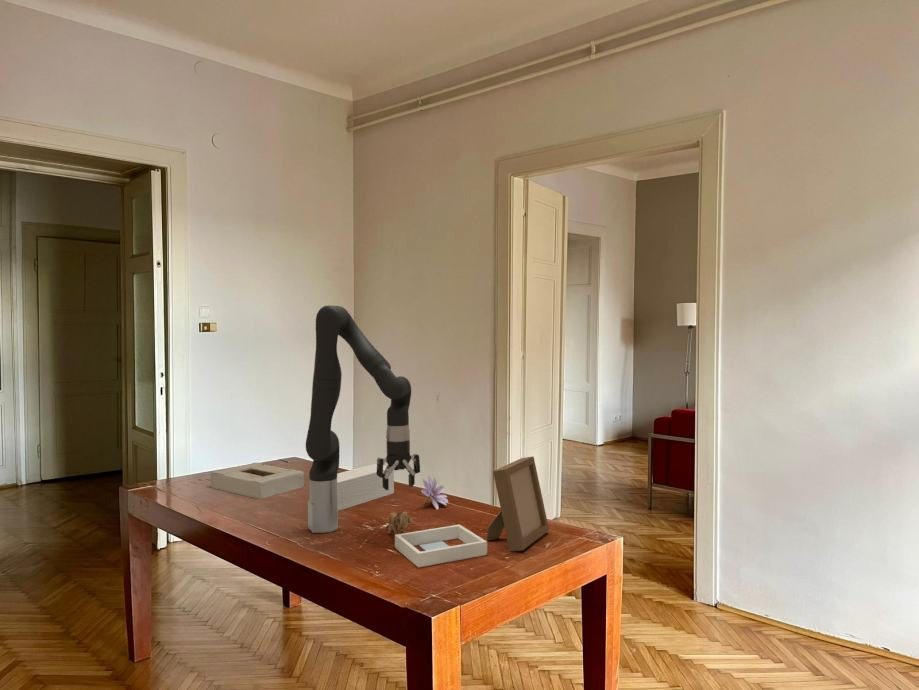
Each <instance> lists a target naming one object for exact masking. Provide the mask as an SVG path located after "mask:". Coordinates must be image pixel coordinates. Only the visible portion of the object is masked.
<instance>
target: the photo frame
mask: <svg viewBox="0 0 919 690" xmlns="http://www.w3.org/2000/svg"><path fill="white" fill-rule="evenodd" d="M535 461H536V460H535V457H534V456H527V457H520V458H519V459H517V460H514V461H513V462H509V463H508V464H506V465H504V466H501V467H499V468H498V469H494V470H492V473H493V478H494V482H495V488H496V493H497V498H498V501H499V507H500V510H499V512H498V513H497V514H496V515H495V517H494V518H493V519H492V521H491V522H490V524H489V525H488V526H487V531H486V540H485V541H491V540H498V539H500V536H501V534H502V533H503V531H504V532H505V536H506V539H507V540H506V541H507V544H508V549H509V550H508V551H509V552H518V551H519V552H520V551H524V550H525V549H526V548H528V547H529V546H530V545H532V544H533V543H534V542H535V541H537V540H538V539H540V538H541V537H543V535H545V534H546V533H548V532H549V531H550V528H549V524H548V518H547V513H546V510H545V509H546V508H545V504H544V499H543V495H542V491H541V485H540V481H539V476H538V471H537V467H536V466H537V465H536V463H535Z"/></svg>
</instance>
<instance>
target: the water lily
mask: <svg viewBox="0 0 919 690" xmlns="http://www.w3.org/2000/svg"><path fill="white" fill-rule="evenodd" d="M422 482H423V485H424V487H425V488H423V489H421V493H422V494H423V495H424V496H427V498H426V499H425V501H423V504H424V505H426V504H427V502H428V501H429V500H431V503H432V506H433V507H434V508H435V509H436V510H439V504H438V503H440V504H441V505H443V506H447V504H449V500H448V495H446V494H441V493H442V492H444V490H445V485H439V486H438V487H437V484H438V483H437V478H436V477H434V478H433V479H432V477H431V476H430V475H429V476H428V477H427V480H425V479H424V478H423V479H422Z"/></svg>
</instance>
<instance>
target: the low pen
mask: <svg viewBox="0 0 919 690" xmlns="http://www.w3.org/2000/svg"><path fill="white" fill-rule="evenodd" d="M394 538H395V539H394V548H395V549H396V550H397V551H398V552H400V553H401V555H403V556H404V557H406V559H407V560H409V561H410V562H411V563H413V564H414V565H415V566H416V567H417V568H422V567H423V568H425V567H429V566H434V565H439V564H444V563H445V564H446V563H450V562H457V561H460V560H467V559H470V558H472V559H473V558H477V557H483V556H487V555H488V540H485V539H484V538H482V537H481V536H479V535H477V534H475V533H474V532H472V531H471V530H469V529H468V528H466V527H465V526H463V525H461V524H455V525H448V526H441V527H435V528H428V529H424V530H416V531H412V532H411V531H410V532H403V534H401V533H397V535H395V534H394ZM455 539H459V540H460V541H461V542H462V543H463V544H457V545H451V546H450V545H448V544H447V543H446V542H444V541H451V540H455ZM415 546H419V548H420V549H422V550H423V551H421V550H419V549H418V548H417V547H415Z"/></svg>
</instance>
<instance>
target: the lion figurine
mask: <svg viewBox="0 0 919 690" xmlns="http://www.w3.org/2000/svg"><path fill="white" fill-rule="evenodd" d="M387 521H388V525H387V526H385V528H386V529H388V530H387V532H386V533H387V534H388V535H390V534H391V533H392V531H391V528H392V530H393V533H394V536H395V535H397V534H398V531H400V534H403V533H405V532H404V531H405V529H406V528H407V527H408V526H409V525H411V523H412V521H413V517H411V516H410V515H409V514H408V512H407V511H402V512H398V513H397V512H393V511H392V512H390V513H389V516H388V520H387ZM391 526H392V527H391ZM393 539H394V540H395V537H394V538H393Z"/></svg>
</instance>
